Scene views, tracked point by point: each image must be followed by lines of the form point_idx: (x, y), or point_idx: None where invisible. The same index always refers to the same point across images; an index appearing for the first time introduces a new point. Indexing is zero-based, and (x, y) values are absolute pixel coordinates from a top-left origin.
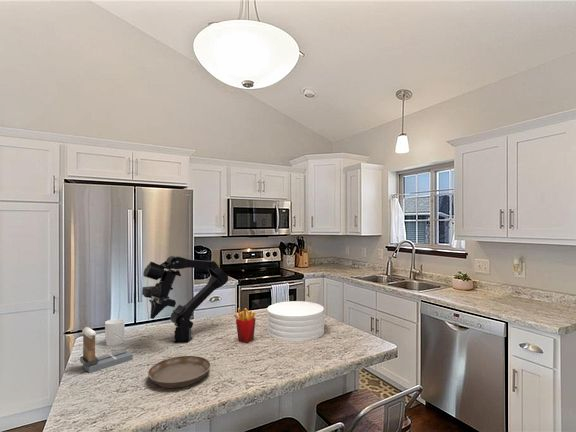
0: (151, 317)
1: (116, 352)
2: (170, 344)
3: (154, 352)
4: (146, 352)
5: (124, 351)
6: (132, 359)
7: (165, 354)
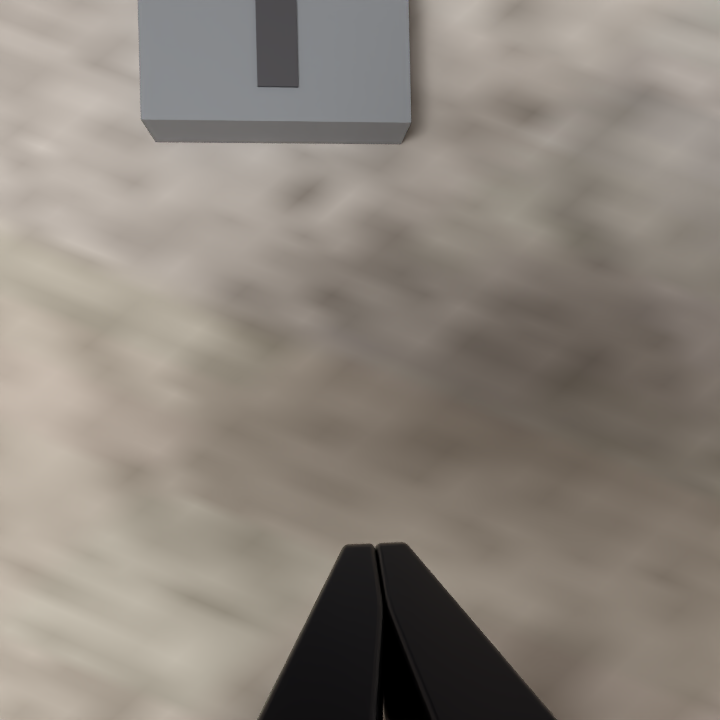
0: (336, 563)
1: (375, 4)
2: None
3: (179, 418)
4: (256, 349)
5: (334, 89)
6: (156, 140)
7: (4, 490)
